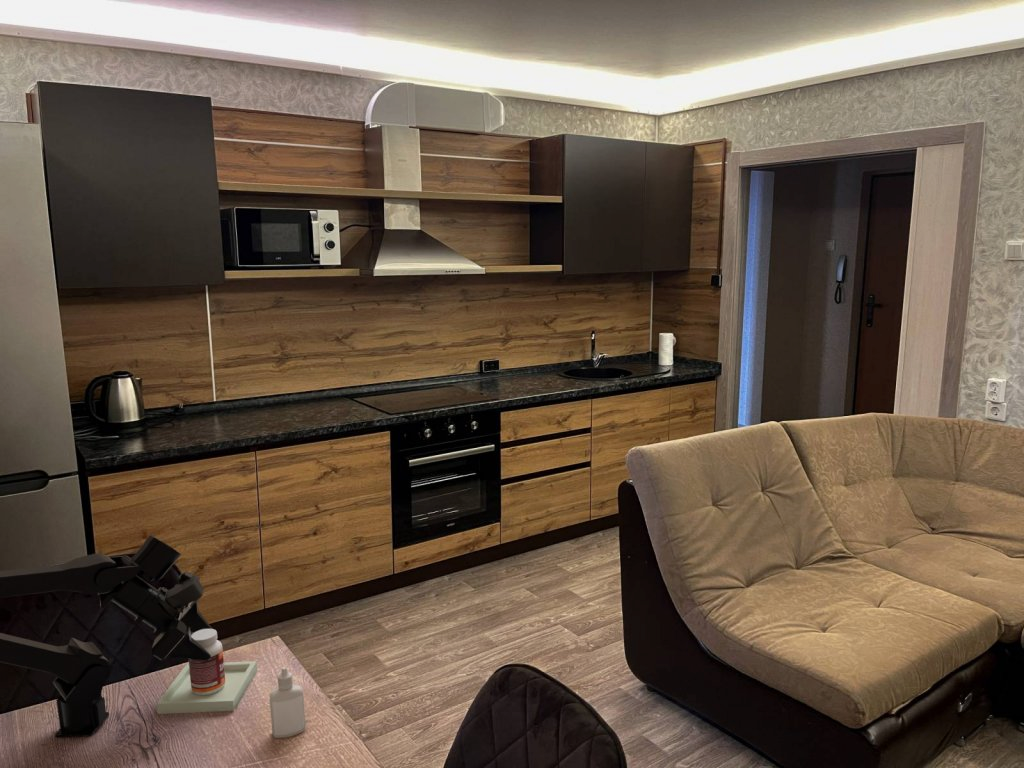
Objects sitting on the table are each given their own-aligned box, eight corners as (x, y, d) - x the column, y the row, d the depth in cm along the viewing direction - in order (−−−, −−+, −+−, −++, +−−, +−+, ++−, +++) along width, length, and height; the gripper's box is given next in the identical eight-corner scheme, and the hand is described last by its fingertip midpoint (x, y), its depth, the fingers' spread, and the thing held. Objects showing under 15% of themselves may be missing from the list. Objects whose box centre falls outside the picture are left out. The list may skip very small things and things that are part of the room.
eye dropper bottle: (299, 739, 129) (295, 675, 127) (268, 738, 129) (263, 674, 127) (309, 724, 133) (304, 662, 131) (279, 723, 134) (274, 661, 132)
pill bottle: (229, 689, 143) (224, 636, 142) (195, 700, 140) (189, 645, 138) (221, 675, 148) (217, 623, 147) (188, 685, 145) (183, 632, 143)
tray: (157, 713, 137) (156, 703, 137) (188, 673, 151) (187, 663, 151) (234, 710, 138) (233, 700, 137) (257, 670, 152) (256, 661, 151)
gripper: (165, 587, 130) (237, 636, 135) (180, 549, 148) (243, 594, 153) (120, 636, 129) (194, 684, 134) (140, 593, 147) (205, 636, 152)
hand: (211, 646), depth 143 cm, fingers open, 9 cm apart
